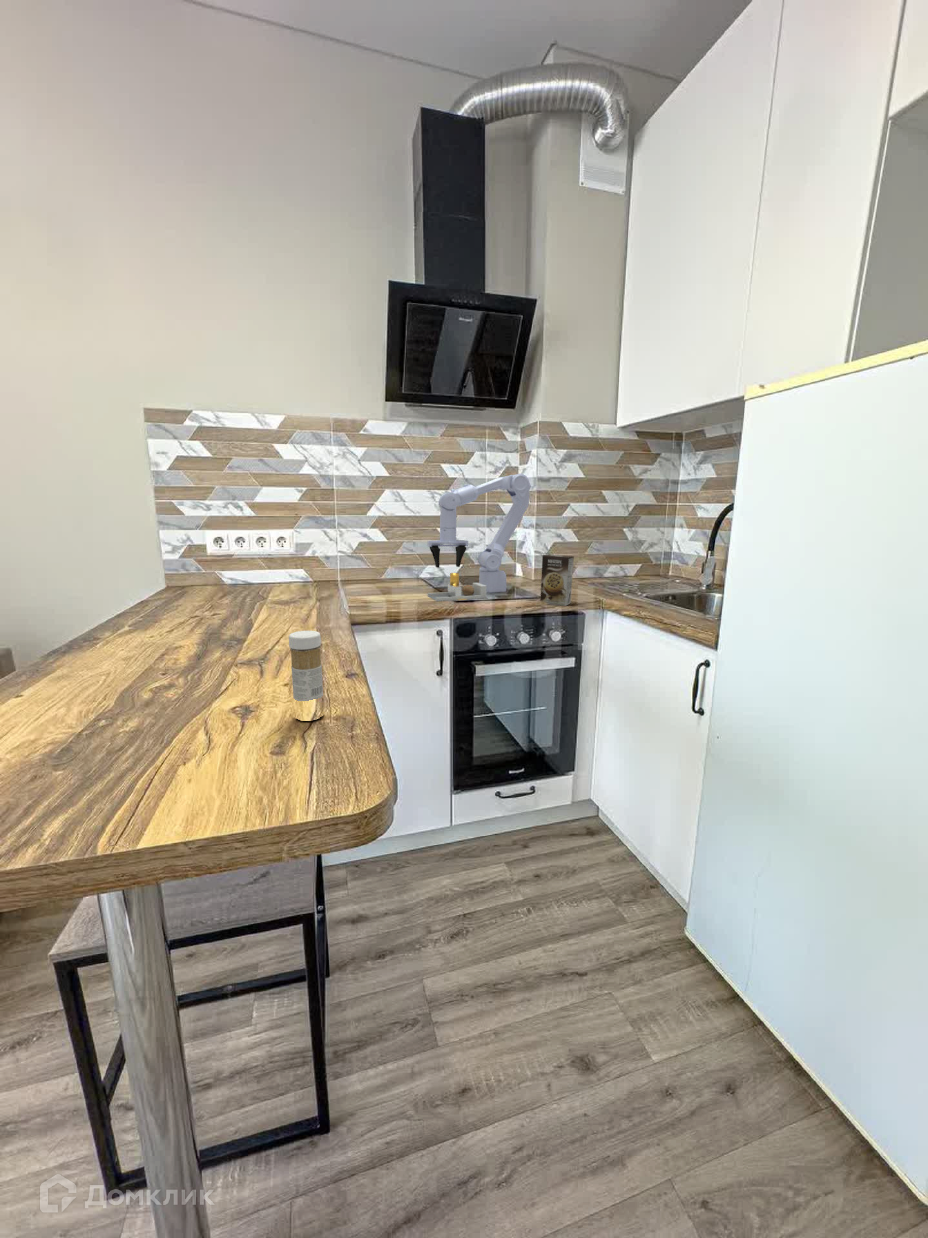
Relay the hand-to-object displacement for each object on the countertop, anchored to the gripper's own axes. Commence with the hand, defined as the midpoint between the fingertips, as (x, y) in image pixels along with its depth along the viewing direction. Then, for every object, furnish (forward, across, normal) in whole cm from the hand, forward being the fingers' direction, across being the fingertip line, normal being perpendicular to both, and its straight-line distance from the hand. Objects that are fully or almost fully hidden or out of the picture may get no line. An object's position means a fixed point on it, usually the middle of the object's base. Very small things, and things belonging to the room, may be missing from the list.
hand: (447, 567), depth 186 cm
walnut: (+9, +4, -11) cm, 15 cm away
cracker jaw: (+9, -1, -11) cm, 14 cm away
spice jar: (+11, -55, -96) cm, 111 cm away
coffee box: (+10, +30, -24) cm, 40 cm away
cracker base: (+10, 0, -11) cm, 15 cm away
